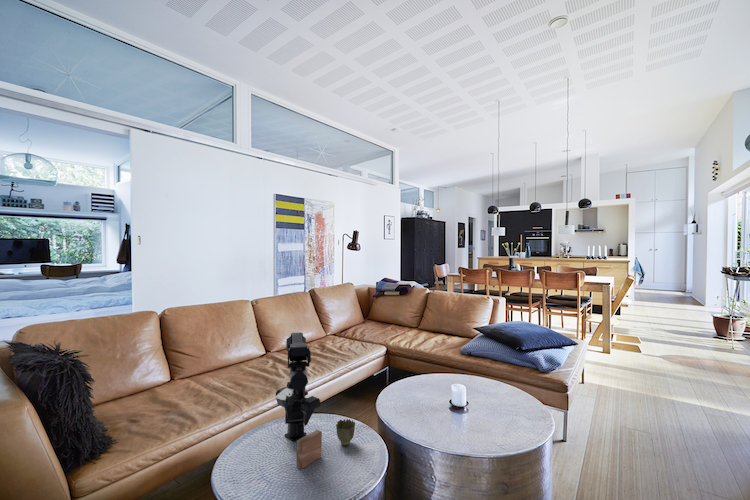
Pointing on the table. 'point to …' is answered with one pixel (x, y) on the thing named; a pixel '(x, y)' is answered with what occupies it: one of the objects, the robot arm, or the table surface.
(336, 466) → the table surface
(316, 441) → the wooden block
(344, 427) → the cup
